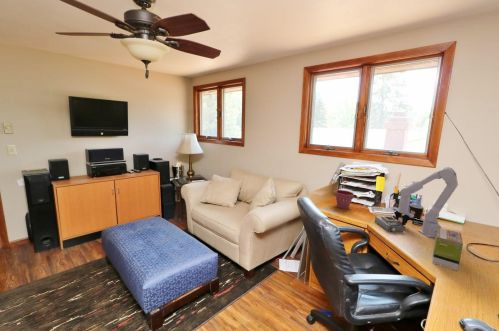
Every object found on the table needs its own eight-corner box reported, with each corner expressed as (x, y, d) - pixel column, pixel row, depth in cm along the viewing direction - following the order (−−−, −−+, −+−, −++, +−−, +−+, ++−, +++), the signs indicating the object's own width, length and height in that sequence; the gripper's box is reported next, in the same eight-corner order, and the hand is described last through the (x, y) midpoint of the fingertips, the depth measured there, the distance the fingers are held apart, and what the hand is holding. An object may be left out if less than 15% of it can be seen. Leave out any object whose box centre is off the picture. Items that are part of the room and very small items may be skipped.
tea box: (432, 251, 128) (437, 226, 126) (456, 258, 122) (462, 232, 119) (431, 263, 117) (436, 236, 114) (458, 271, 110) (464, 243, 108)
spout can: (405, 227, 159) (407, 217, 157) (399, 226, 159) (401, 217, 157) (401, 224, 163) (403, 215, 161) (396, 224, 163) (397, 214, 161)
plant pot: (353, 206, 196) (355, 192, 194) (350, 211, 185) (352, 196, 182) (336, 203, 204) (337, 189, 202) (332, 207, 192) (333, 192, 190)
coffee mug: (424, 221, 170) (426, 208, 168) (412, 221, 170) (414, 208, 168) (413, 215, 181) (415, 203, 179) (402, 214, 181) (404, 202, 179)
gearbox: (404, 233, 149) (406, 225, 148) (389, 232, 149) (390, 224, 148) (388, 221, 167) (389, 214, 166) (374, 221, 167) (375, 214, 166)
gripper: (418, 208, 152) (415, 227, 154) (399, 201, 166) (396, 218, 168) (410, 208, 150) (406, 228, 153) (391, 201, 164) (388, 219, 166)
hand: (401, 223), depth 160 cm, fingers closed on spout can, 4 cm apart
